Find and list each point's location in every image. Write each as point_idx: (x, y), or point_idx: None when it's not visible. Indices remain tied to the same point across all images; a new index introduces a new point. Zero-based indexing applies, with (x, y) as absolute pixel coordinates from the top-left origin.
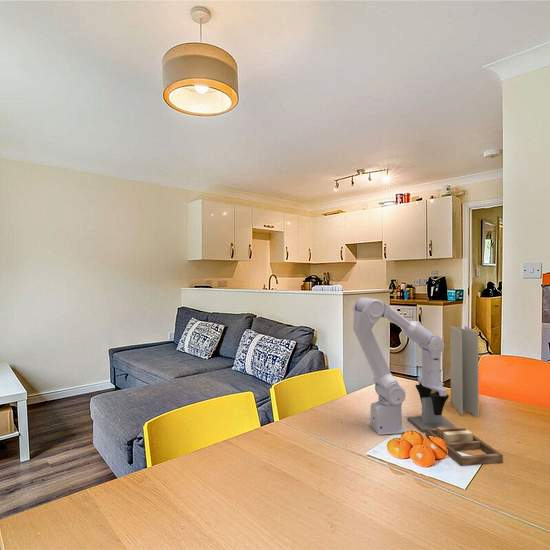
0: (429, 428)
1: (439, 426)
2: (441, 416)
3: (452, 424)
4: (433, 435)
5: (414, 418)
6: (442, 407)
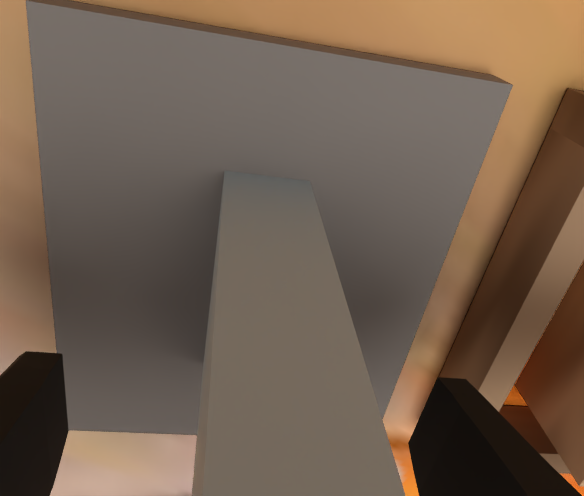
0: (381, 385)
1: (389, 281)
2: (321, 233)
3: (416, 86)
4: (559, 472)
5: (111, 390)
6: (559, 494)
